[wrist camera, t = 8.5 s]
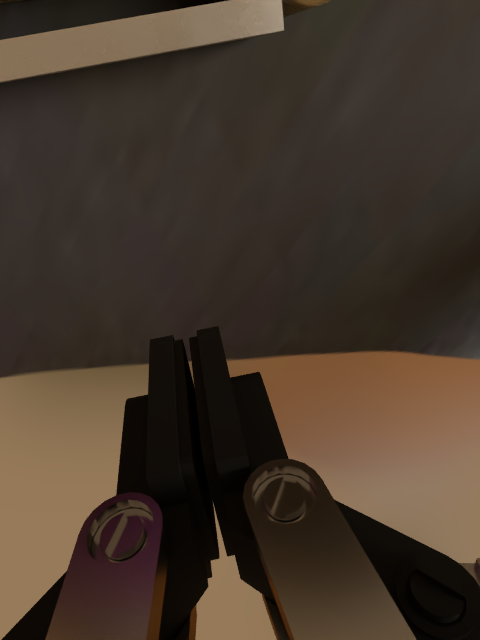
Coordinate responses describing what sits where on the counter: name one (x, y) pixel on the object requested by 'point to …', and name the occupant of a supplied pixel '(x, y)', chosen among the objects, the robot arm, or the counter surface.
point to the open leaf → (137, 37)
